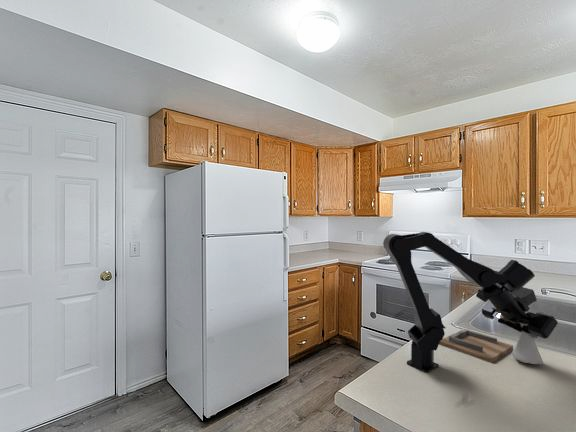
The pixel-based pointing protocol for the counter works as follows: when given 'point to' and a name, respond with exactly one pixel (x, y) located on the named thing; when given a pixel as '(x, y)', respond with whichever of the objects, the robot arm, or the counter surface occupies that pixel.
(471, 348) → the board
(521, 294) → the robot arm
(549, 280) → the counter surface
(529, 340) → the flask
